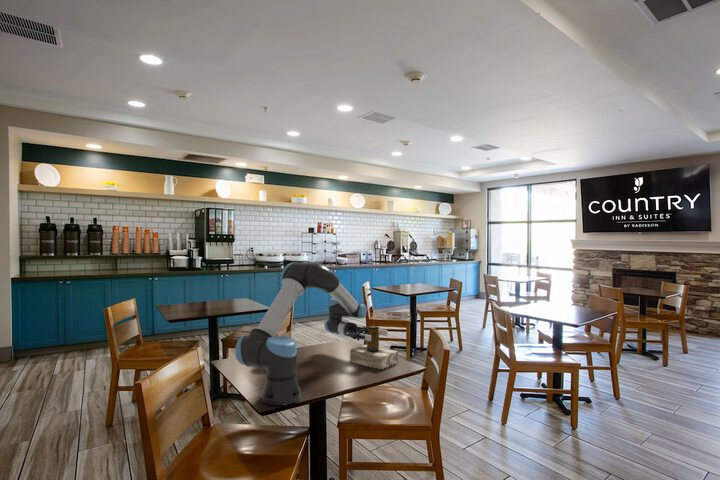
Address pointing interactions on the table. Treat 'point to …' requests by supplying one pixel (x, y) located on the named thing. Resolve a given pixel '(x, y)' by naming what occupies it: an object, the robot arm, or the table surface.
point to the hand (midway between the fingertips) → (379, 335)
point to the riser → (374, 357)
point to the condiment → (373, 340)
